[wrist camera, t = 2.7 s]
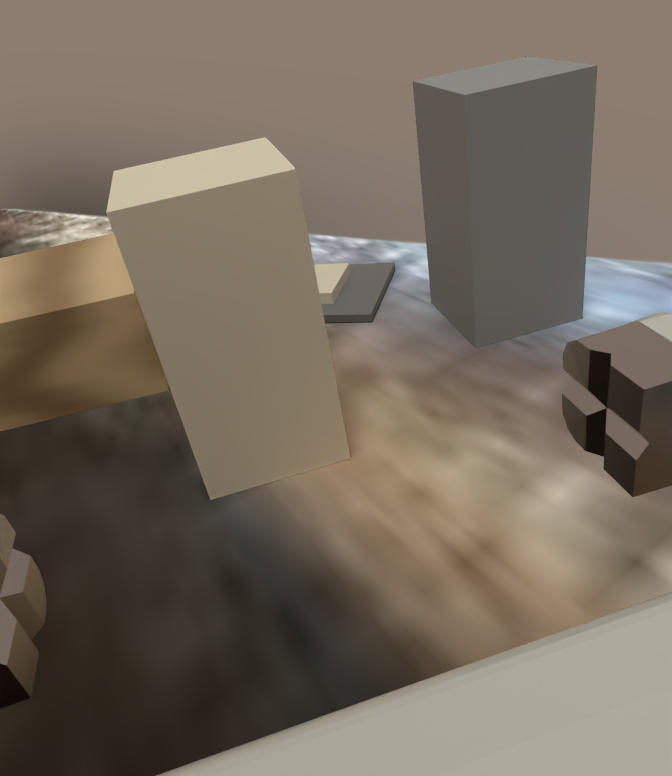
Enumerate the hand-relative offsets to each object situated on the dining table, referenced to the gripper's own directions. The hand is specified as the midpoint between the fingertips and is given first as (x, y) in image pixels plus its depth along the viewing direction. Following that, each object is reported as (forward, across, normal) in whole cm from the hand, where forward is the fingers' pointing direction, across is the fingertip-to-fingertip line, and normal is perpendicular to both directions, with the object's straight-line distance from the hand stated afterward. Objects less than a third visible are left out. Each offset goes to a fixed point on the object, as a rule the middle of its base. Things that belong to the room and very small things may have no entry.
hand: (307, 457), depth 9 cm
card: (+24, -4, +8) cm, 26 cm away
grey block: (+17, -12, +8) cm, 22 cm away
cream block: (+12, 0, +8) cm, 15 cm away
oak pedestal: (+23, +8, +8) cm, 26 cm away
